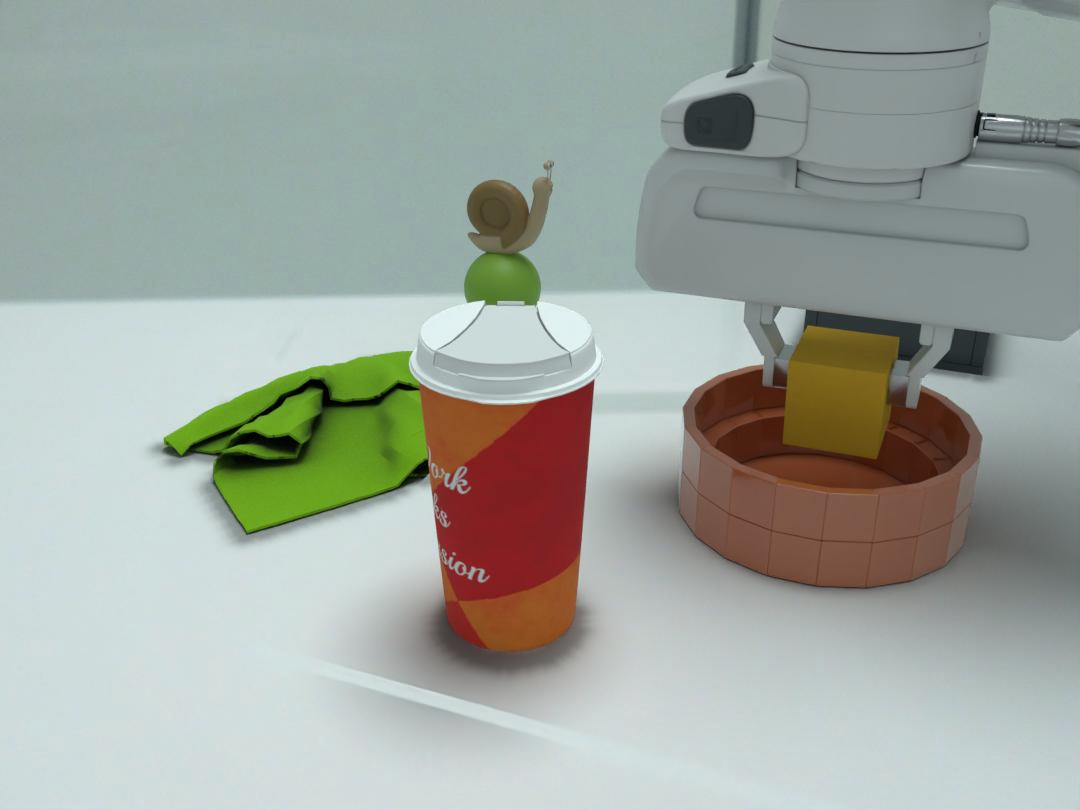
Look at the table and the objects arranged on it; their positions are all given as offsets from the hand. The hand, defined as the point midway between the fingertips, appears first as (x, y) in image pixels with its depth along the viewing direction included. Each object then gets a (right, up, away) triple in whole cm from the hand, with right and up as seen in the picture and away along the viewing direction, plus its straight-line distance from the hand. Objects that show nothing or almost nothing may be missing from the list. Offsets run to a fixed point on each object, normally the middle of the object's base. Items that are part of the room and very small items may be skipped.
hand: (839, 393), depth 56 cm
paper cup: (-16, -10, -5) cm, 20 cm away
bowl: (0, -6, +3) cm, 7 cm away
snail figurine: (-17, +5, +26) cm, 32 cm away
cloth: (-26, -2, +11) cm, 28 cm away
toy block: (0, -2, +1) cm, 2 cm away
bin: (+11, +5, +25) cm, 28 cm away
